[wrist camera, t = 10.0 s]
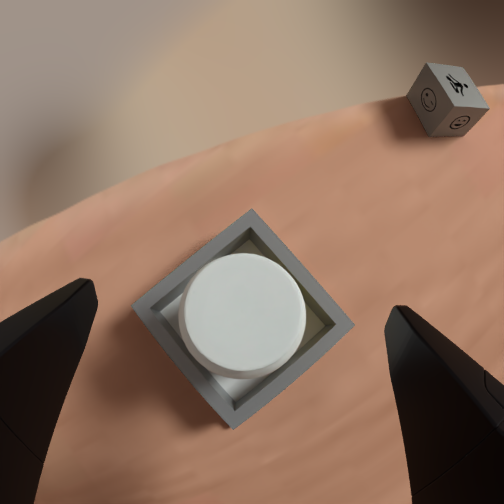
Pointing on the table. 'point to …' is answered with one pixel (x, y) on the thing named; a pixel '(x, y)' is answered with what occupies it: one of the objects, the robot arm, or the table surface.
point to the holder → (257, 389)
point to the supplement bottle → (242, 316)
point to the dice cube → (446, 100)
